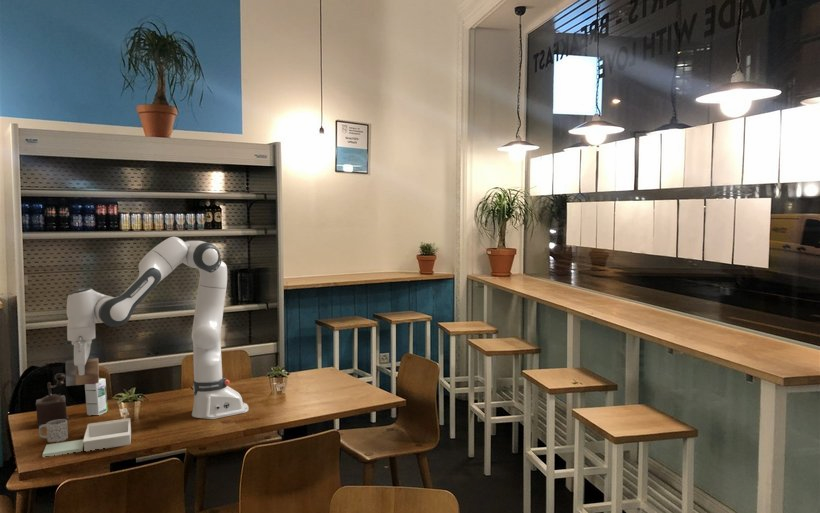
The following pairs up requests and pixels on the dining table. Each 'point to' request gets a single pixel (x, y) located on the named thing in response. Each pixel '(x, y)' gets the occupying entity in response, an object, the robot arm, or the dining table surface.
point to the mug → (55, 430)
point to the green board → (63, 448)
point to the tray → (107, 434)
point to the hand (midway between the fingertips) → (82, 372)
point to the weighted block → (88, 378)
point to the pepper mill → (52, 404)
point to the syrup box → (96, 397)
